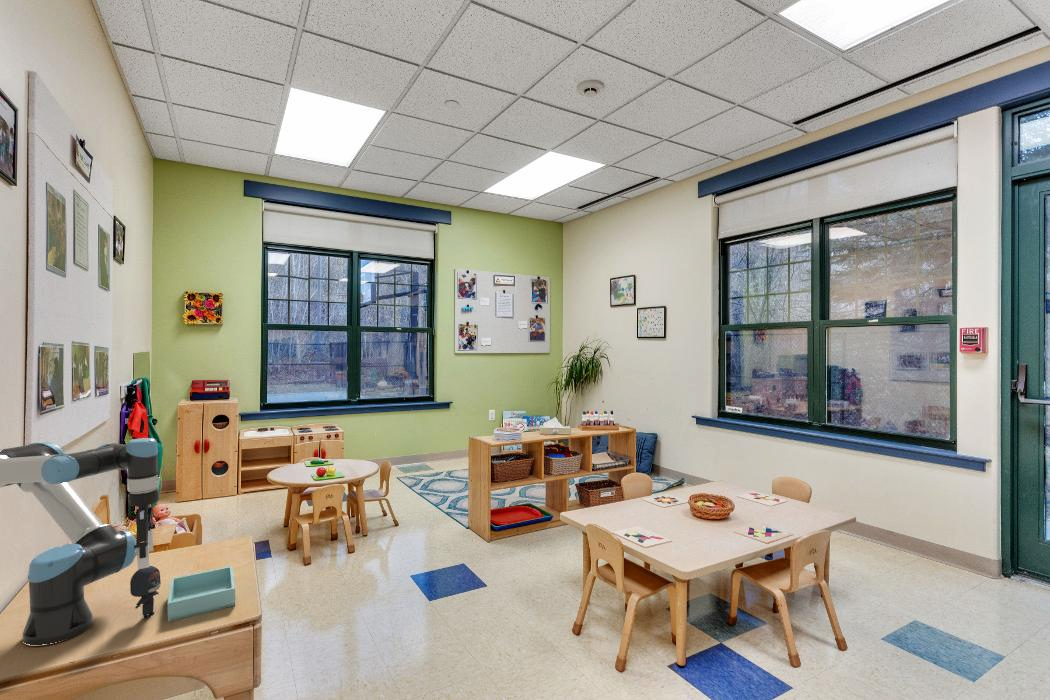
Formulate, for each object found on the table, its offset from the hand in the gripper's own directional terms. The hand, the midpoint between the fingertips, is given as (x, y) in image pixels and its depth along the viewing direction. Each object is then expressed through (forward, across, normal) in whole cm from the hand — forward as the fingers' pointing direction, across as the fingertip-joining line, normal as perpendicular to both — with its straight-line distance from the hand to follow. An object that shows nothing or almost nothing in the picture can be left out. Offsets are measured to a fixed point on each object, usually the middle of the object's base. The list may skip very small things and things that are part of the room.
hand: (145, 559), depth 159 cm
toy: (+18, 0, 0) cm, 18 cm away
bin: (+18, +2, -14) cm, 23 cm away
